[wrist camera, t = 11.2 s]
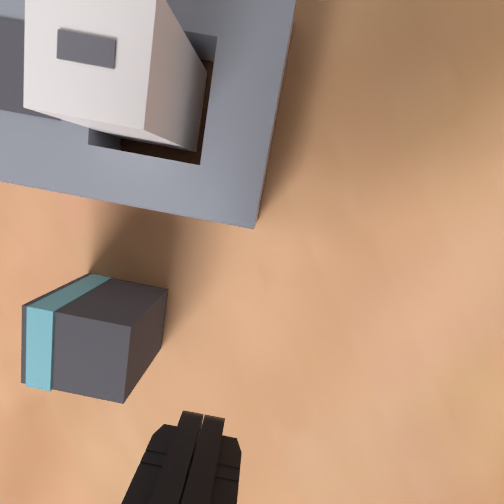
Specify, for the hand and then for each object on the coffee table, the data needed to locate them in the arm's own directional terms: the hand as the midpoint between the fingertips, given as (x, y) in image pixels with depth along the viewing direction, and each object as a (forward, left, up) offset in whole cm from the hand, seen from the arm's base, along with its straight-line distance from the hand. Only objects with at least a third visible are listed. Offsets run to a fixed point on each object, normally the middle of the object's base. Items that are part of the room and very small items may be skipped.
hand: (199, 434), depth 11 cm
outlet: (+7, -12, -8) cm, 16 cm away
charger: (+6, -12, -8) cm, 15 cm away
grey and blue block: (+7, 0, -8) cm, 11 cm away
